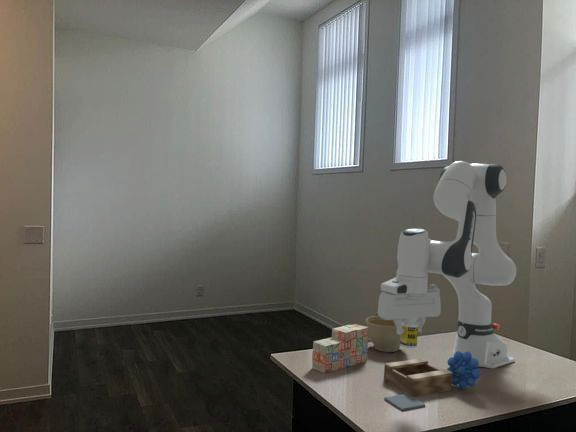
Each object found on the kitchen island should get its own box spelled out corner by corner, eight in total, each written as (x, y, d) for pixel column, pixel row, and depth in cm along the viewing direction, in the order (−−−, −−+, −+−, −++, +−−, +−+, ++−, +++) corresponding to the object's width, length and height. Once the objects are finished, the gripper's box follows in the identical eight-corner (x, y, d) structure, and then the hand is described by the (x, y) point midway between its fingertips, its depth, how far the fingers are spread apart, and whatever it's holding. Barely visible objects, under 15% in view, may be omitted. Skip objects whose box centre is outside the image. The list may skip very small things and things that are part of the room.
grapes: (487, 392, 149) (489, 353, 148) (474, 397, 145) (476, 357, 144) (454, 380, 158) (456, 343, 158) (441, 384, 154) (443, 346, 154)
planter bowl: (380, 339, 200) (381, 313, 200) (415, 349, 189) (416, 321, 189) (356, 347, 189) (357, 319, 188) (393, 358, 178) (394, 328, 177)
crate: (421, 374, 163) (421, 358, 162) (451, 389, 150) (452, 372, 150) (383, 379, 156) (384, 363, 156) (412, 396, 144) (413, 379, 143)
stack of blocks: (324, 374, 160) (326, 336, 160) (311, 368, 165) (312, 332, 164) (367, 361, 174) (368, 326, 174) (354, 356, 179) (355, 323, 178)
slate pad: (406, 395, 145) (406, 393, 145) (425, 406, 137) (425, 404, 137) (384, 399, 141) (384, 397, 141) (402, 411, 134) (402, 408, 134)
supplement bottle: (407, 348, 138) (408, 319, 138) (396, 344, 142) (397, 315, 142) (420, 347, 140) (421, 317, 140) (409, 342, 144) (410, 314, 144)
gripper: (432, 282, 148) (429, 328, 148) (375, 284, 139) (373, 332, 140) (447, 286, 142) (444, 333, 143) (389, 288, 134) (386, 338, 134)
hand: (408, 333), depth 141 cm, fingers closed on supplement bottle, 5 cm apart
